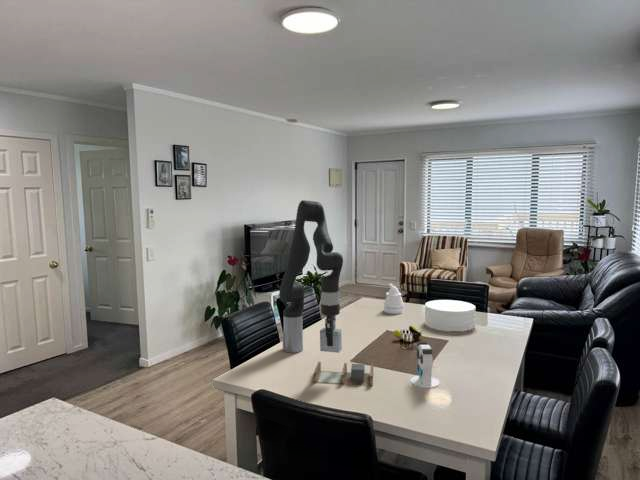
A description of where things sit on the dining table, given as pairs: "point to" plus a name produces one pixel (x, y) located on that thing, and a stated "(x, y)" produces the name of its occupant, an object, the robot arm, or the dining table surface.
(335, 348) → the medicine box
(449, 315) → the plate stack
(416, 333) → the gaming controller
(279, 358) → the dining table surface
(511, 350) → the dining table surface
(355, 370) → the cord plug
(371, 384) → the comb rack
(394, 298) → the honey pot
